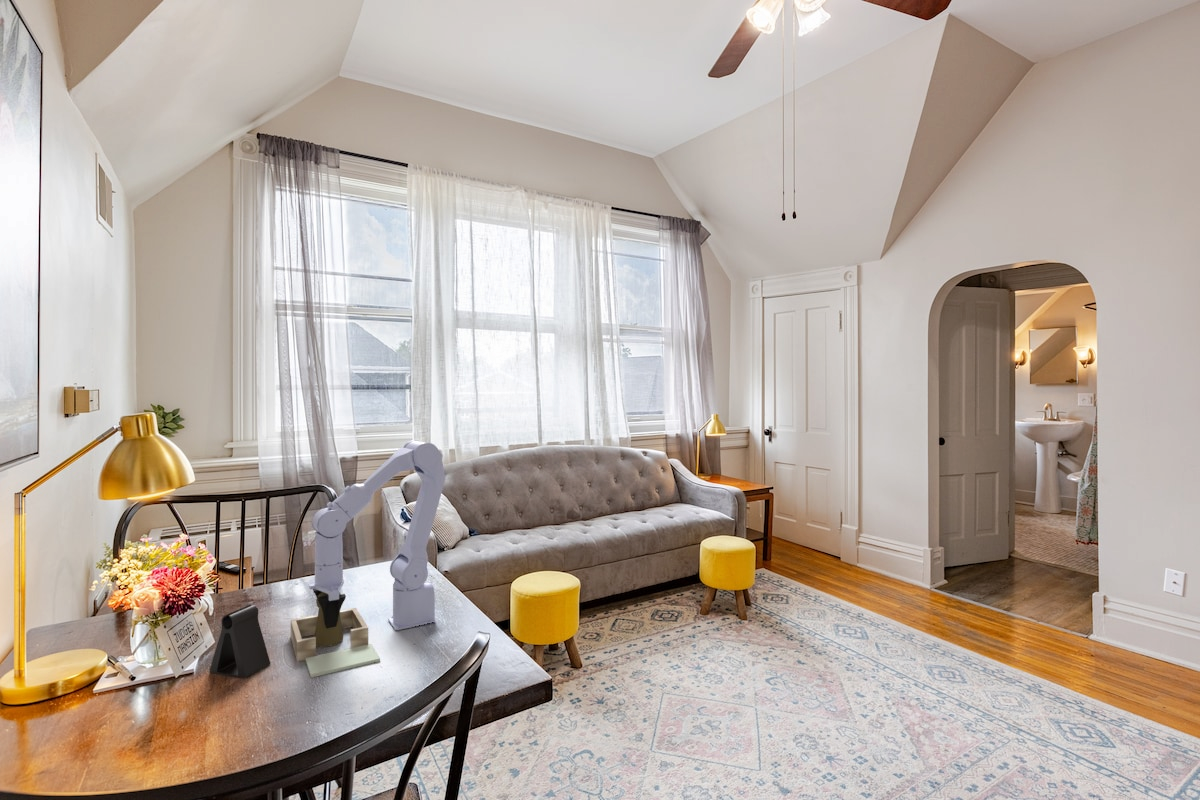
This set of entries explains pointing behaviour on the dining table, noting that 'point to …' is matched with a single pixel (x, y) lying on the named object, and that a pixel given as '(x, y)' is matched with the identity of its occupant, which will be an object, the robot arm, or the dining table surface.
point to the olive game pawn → (327, 629)
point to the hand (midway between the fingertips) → (329, 622)
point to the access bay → (308, 627)
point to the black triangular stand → (240, 645)
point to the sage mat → (341, 660)
